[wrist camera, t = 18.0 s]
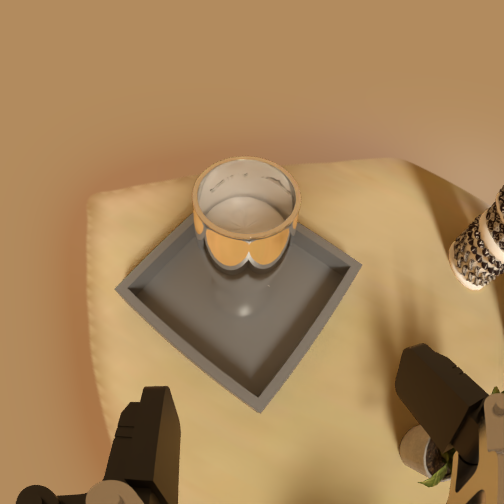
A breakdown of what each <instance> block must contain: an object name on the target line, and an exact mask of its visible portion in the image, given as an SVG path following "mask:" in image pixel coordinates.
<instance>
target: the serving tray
mask: <svg viewBox="0 0 504 504" xmlns="http://www.w3.org/2000/svg"><path fill="white" fill-rule="evenodd" d="M361 266H362V264H361V263H359V262H358V261H356V260H355V259H353V258H352V257H350V256H349V255H347V254H346V253H344V252H343V251H341V250H340V249H338V248H337V247H335V246H334V245H332V244H331V243H329V242H328V241H326V240H325V239H323V238H322V237H320V236H319V235H317V234H316V233H314V232H312V231H311V230H309V229H308V228H306V227H305V226H303V225H302V224H300V223H298V222H297V226H296V232H295V236H294V240H293V244H292V247H291V250H290V252H289V255H288V257H287V260H286V261H285V263H284V265H283V266H282V268H281V270H280V271H279V273H278V274H277V275H276V276H275V278H274V279H273V280H272V281H271V297H270V300H269V302H268V304H267V305H266V306H265V308H264V309H263V310H262V311H260V312H259V313H257V314H255V315H253V316H250V317H234V316H231V315H228V314H226V313H225V312H223V311H222V310H221V309H220V308H219V307H218V306H217V304H216V303H215V301H214V299H213V295H212V283H213V278H212V276H211V275H210V273H209V272H208V270H207V268H206V267H205V264H204V262H203V260H202V258H201V256H200V253H199V249H198V246H197V242H196V236H195V229H194V216H193V213H192V214H191V215H190V216H189V217H188V218H186V219H185V220H184V221H183V222H182V223H181V224H180V225H179V226H178V227H177V228H176V229H175V230H174V231H172V232H171V233H170V234H169V235H168V236H167V237H166V238H165V239H164V240H163V241H162V242H161V243H160V244H159V245H158V246H157V247H156V248H155V249H154V250H153V251H152V252H151V253H150V254H149V255H148V256H147V257H146V258H145V259H143V260H142V261H141V262H140V263H139V264H138V265H137V266H136V267H135V268H134V269H133V270H132V271H131V272H130V274H129V275H128V276H127V277H126V278H125V279H124V280H123V281H122V282H121V283H120V284H119V285H118V286H117V287H116V288H115V290H116V291H117V292H118V294H119V295H120V296H121V297H122V298H123V299H124V300H125V301H126V302H127V303H128V304H129V305H130V306H131V307H132V308H133V309H134V310H135V311H136V312H137V313H138V314H139V315H140V316H141V317H142V318H143V319H144V320H145V321H146V322H147V323H148V324H149V325H150V326H151V327H153V328H154V329H155V330H156V331H157V332H158V333H159V334H160V335H161V336H162V337H163V338H165V339H166V340H167V341H168V342H169V343H170V344H171V345H172V346H174V347H175V348H176V349H177V350H178V351H179V352H181V353H182V354H183V355H184V356H185V357H186V358H188V359H189V360H190V361H191V362H192V363H194V364H195V365H196V366H197V367H198V368H200V369H201V370H202V371H203V372H204V373H206V374H207V375H208V376H209V377H211V378H212V379H213V380H215V381H216V382H217V383H218V384H220V385H221V386H222V387H224V388H225V389H226V390H227V391H229V392H230V393H231V394H233V395H234V396H235V397H237V398H238V399H240V400H241V401H242V402H244V403H245V404H246V405H248V406H249V407H251V408H252V409H253V410H255V411H256V412H258V413H261V412H262V411H263V410H264V408H265V407H266V406H267V405H268V403H269V402H270V401H271V400H272V398H273V397H274V396H275V394H276V393H277V392H278V391H279V389H280V388H281V387H282V385H283V384H284V383H285V381H286V380H287V379H288V377H289V376H290V375H291V373H292V372H293V370H294V369H295V368H296V366H297V365H298V364H299V362H300V361H301V359H302V358H303V357H304V355H305V354H306V352H307V351H308V350H309V348H310V347H311V345H312V344H313V342H314V341H315V339H316V338H317V336H318V335H319V333H320V332H321V330H322V329H323V327H324V326H325V324H326V323H327V321H328V320H329V318H330V317H331V315H332V314H333V312H334V311H335V309H336V308H337V306H338V304H339V303H340V301H341V300H342V298H343V296H344V295H345V293H346V292H347V290H348V288H349V287H350V285H351V283H352V282H353V280H354V278H355V277H356V275H357V273H358V272H359V270H360V268H361Z"/></svg>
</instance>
